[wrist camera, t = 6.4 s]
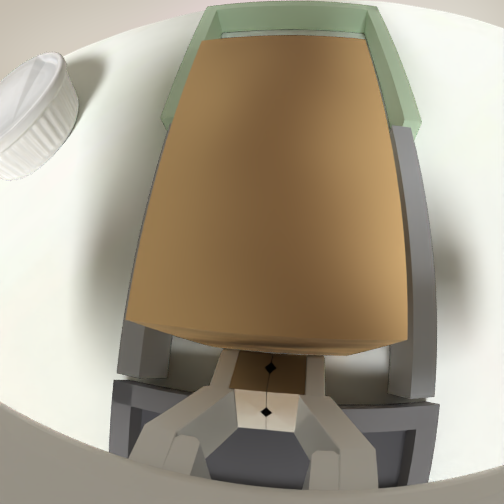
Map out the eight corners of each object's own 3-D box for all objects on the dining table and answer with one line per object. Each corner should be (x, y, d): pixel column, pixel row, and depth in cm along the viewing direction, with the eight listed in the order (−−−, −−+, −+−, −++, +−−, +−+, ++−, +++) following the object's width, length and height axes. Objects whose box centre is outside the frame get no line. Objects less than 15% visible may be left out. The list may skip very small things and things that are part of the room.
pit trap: (123, 486, 12) (108, 494, 11) (129, 379, 14) (113, 379, 13) (407, 514, 10) (417, 525, 8) (426, 401, 12) (439, 404, 10)
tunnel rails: (148, 374, 14) (116, 373, 11) (186, 157, 18) (169, 123, 15) (408, 392, 12) (434, 396, 9) (397, 162, 16) (410, 127, 13)
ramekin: (112, 113, 21) (80, 64, 16) (10, 219, 19) (-37, 186, 14) (66, 78, 24) (42, 42, 20) (-12, 157, 23) (-43, 128, 18)
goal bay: (174, 144, 18) (160, 117, 16) (212, 28, 23) (207, 6, 21) (410, 150, 16) (421, 122, 14) (373, 29, 21) (376, 6, 19)
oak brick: (212, 346, 14) (125, 319, 7) (236, 159, 17) (201, 40, 10) (346, 355, 13) (407, 340, 6) (345, 162, 17) (365, 39, 9)
